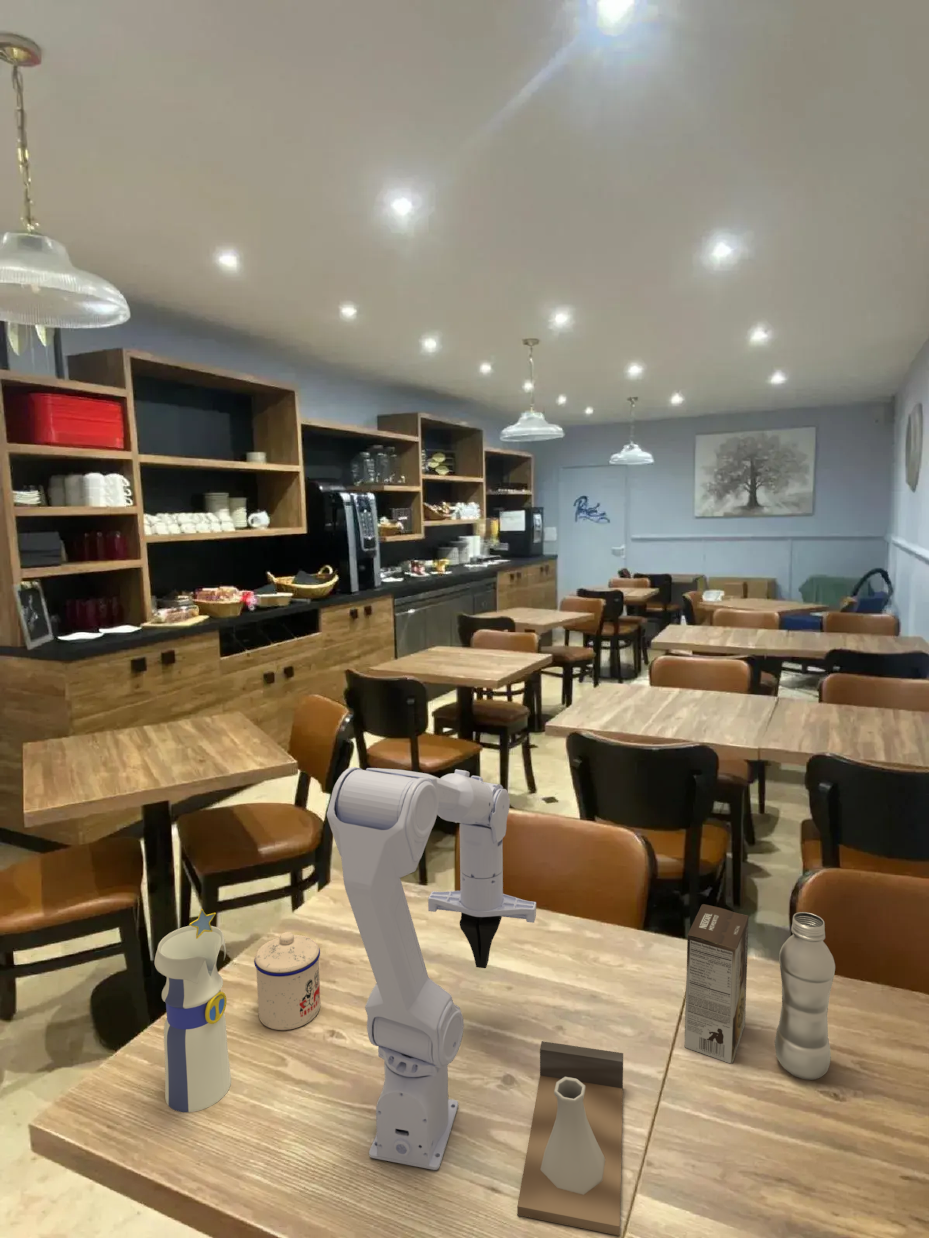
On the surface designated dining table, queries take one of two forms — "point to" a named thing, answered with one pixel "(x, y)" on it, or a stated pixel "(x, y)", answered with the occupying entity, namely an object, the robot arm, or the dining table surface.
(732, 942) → the coffee box
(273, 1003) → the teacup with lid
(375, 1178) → the dining table surface
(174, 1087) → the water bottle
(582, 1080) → the sliding board
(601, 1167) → the flask
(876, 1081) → the dining table surface
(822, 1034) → the plastic bottle
